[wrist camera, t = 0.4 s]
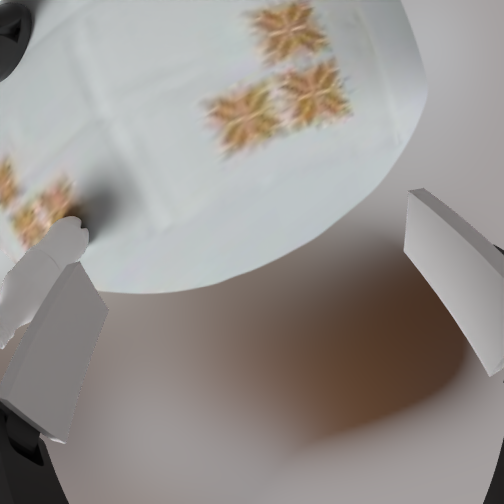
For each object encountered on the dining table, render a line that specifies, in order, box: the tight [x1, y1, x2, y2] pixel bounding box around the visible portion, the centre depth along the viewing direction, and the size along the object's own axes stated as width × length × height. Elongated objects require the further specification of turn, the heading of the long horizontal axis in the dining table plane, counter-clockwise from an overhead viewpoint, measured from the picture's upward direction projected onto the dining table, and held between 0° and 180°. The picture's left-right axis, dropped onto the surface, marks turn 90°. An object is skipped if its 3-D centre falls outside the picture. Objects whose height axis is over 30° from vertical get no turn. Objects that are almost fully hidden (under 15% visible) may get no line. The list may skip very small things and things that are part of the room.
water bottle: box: [0, 216, 89, 349], centre depth 31 cm, size 7×7×25 cm
